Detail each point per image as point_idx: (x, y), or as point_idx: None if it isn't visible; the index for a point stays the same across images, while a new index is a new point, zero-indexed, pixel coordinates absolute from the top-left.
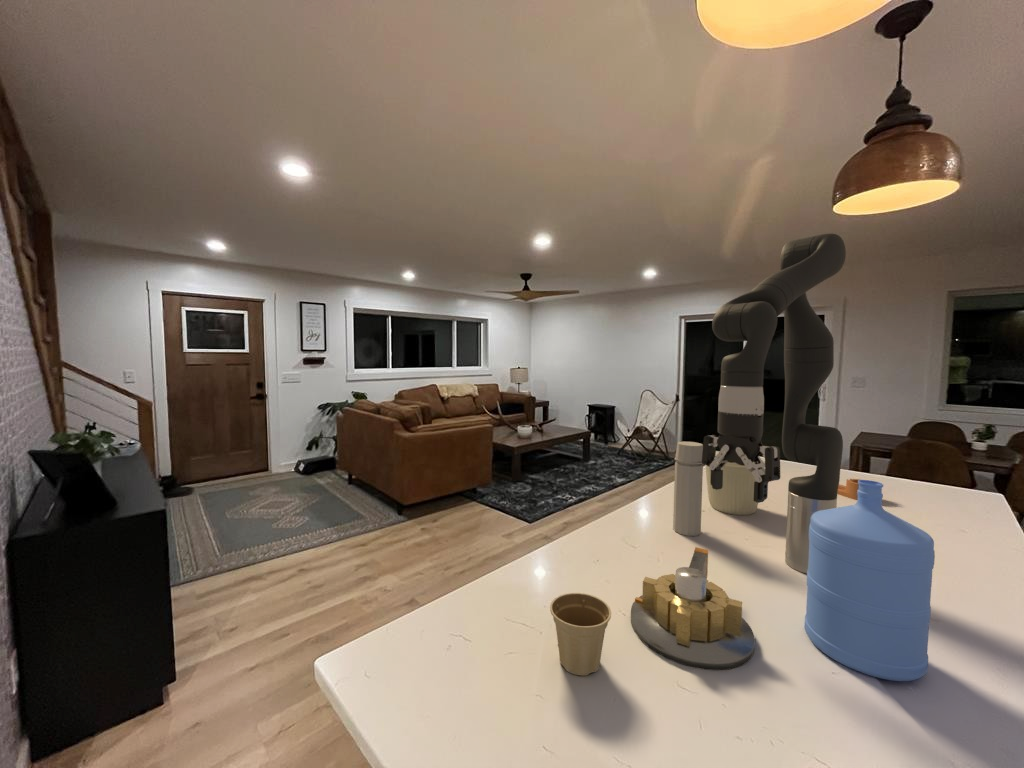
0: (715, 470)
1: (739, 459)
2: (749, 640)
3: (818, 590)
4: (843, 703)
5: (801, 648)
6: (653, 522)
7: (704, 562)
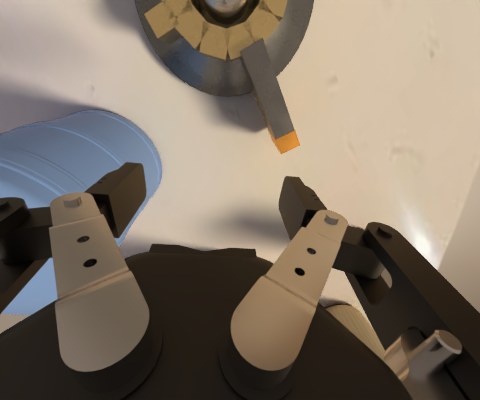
0: (311, 218)
1: (164, 269)
2: (153, 36)
3: (88, 133)
4: (48, 34)
5: (135, 105)
6: (400, 233)
7: (261, 103)
